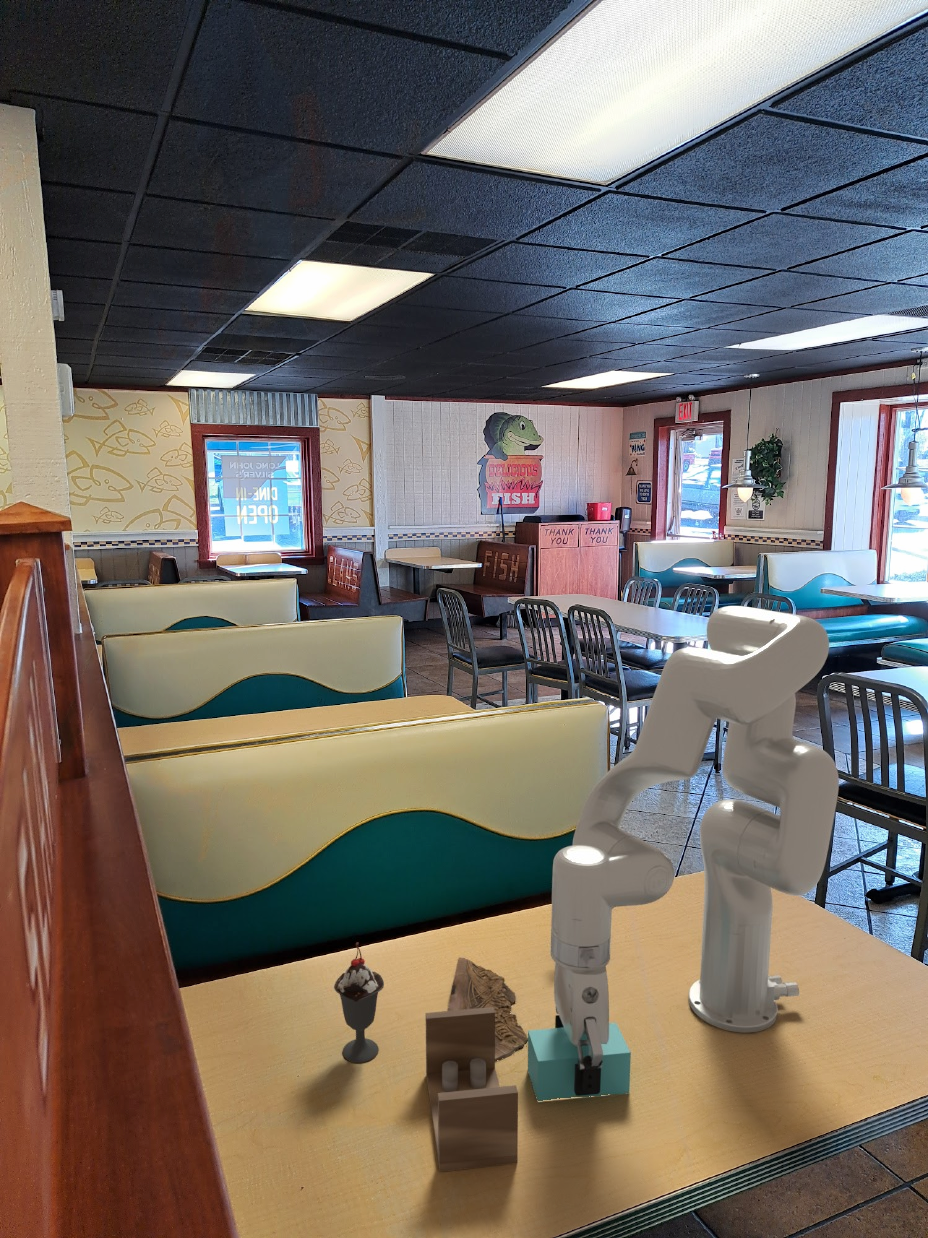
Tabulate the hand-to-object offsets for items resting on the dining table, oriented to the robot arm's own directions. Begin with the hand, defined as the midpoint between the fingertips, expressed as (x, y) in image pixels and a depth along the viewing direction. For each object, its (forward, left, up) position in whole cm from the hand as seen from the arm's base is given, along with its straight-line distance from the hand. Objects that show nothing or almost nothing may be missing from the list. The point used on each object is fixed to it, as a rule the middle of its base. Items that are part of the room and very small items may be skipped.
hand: (576, 1067), depth 109 cm
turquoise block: (0, 0, -2) cm, 2 cm away
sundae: (+28, -10, -2) cm, 30 cm away
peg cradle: (+15, +4, -2) cm, 15 cm away
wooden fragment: (+10, -18, -3) cm, 21 cm away
